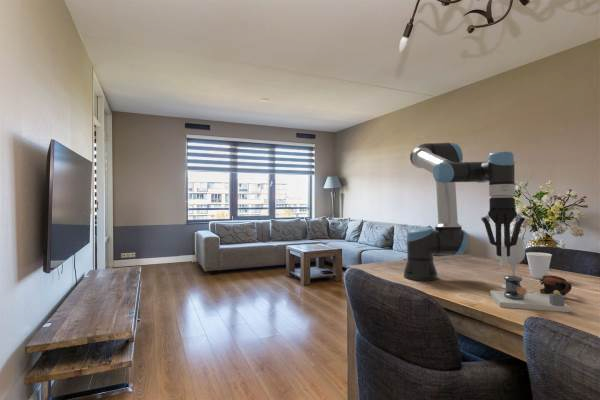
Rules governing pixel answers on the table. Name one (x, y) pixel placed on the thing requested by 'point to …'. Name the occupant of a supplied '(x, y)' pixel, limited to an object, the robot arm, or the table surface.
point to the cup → (538, 264)
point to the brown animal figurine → (554, 285)
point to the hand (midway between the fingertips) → (503, 265)
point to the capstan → (514, 287)
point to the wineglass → (515, 255)
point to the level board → (533, 301)
